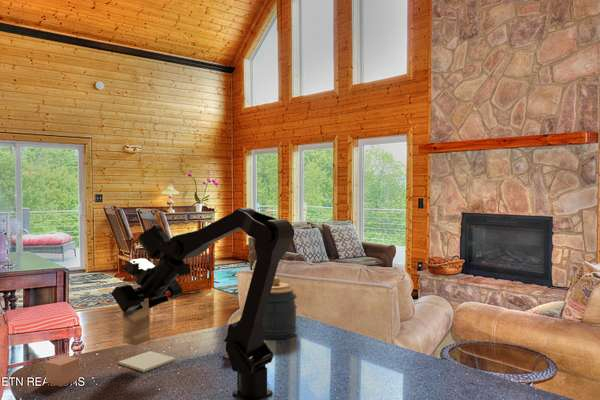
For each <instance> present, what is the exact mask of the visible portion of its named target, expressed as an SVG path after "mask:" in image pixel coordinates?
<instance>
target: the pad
mask: <svg viewBox="0 0 600 400" xmlns="http://www.w3.org/2000/svg"><path fill="white" fill-rule="evenodd" d="M175 361H176V358H175V357H173V356H170V355H166V354H162V353H159V352H155V351H152V350H148V351H147V352H143V353H141V354H137V355H135V356H132V357H128V358H125V359H123V360H119V361H118V365H121V366H123V367H127V368H130V369H134V370H136V371H139V372H143V373H145V372H148V371H150V370H153V369H154V370H155V368H158V367H162V366H164V365H166V364H169V363H172V362H175Z"/></svg>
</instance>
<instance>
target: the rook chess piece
mask: <svg viewBox="0 0 600 400" xmlns="http://www.w3.org/2000/svg"><path fill="white" fill-rule="evenodd" d="M228 327H229V325H227V326H225V330H224V331H225V333H226V334H225V337H227V332H228ZM225 347H226V345H225V346H224V348H223V350H222V352H223V353H222V356H223V357H224V358H225V359H227V360H228V359H229V356H228V353H227V352H226V348H225Z"/></svg>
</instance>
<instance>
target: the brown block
mask: <svg viewBox="0 0 600 400" xmlns="http://www.w3.org/2000/svg"><path fill="white" fill-rule="evenodd" d="M130 285H131V286H132V287H133V289H134V290H135V291H137V290H136V289H137V288H138V287H141V286H140V285H138V284H137V283H134V284H130ZM141 305H142V307H143V308H142V309H141V310H139V311H137V312H135V313H133V314H131V315H129V316H127V317H125V316H124V314H123V311H122V310H121V311H122V343H123V344H127V345H132V346H139V345H141V344H143V343H146V342H148V341H151V338H150V337H151V336H150V335H151V334H150V309H149V299H145V300H144V302H143V303H141Z"/></svg>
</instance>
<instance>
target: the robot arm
mask: <svg viewBox="0 0 600 400" xmlns="http://www.w3.org/2000/svg"><path fill="white" fill-rule="evenodd" d="M240 230H241V231H243V232H244V233H245V234H246V235H247V236H249V237H250V238H252V239H254V244H253V248H254V252H255V256H256V260H255V264H254V267H253V270H252V275H251V279H250V282H249V287H248V290H247V294H246V298H245V302H244V304H243V308H242V312H241V316H240V319H239V320H237V321H234V322H231V323H230V324H228V326H229V327H228V332H227V333H226V335H227V337H226V336H225V337H226V338H224V340H223V341H224V343H225V346H226V347H225V346H224V349H225V348H226V352H227V353H228V356H229V362H230V366H231V371H233V372H236V373H237V377H236V378H237V379H236V380H237V381H236V382H237V383H236V384H237V387H236V390H233V391H232V393H231V394H232V395H233V396H235V397H237V398H240V399H241V400H262V399H265V398H266V397H268V396H271V395H273V393H274V392H273V391H272V390H270V389H268V367H267V366H266V365H267V364H270V363H272V362H273V359H274V355H275V354H274V353H273V351H272V350H271V349H270V346H268V344H267V343H266V342H265V339H264V337H265V331H264V327H263V318H264V314H265V310H266V307H267V303H268V300H269V296H270V292H271V289H272V285H273V281H274V278H275V277H276V275H277V274H276V273H277V269H278V266H279V263H280V261H281V260H282V258H283V257H284V256H285V254H286V253H287V252H288V250H289V248H290V246H291V244H292V242H293V239H294V237H295V228H294V227H293V225H292V223H291V222H290V221H288V220H287V219H285V218H276V217H273V216H271V215H267V214H265V213H262V212H258V211H257V210H255V209H252V208H251V207H242V208H241V207H240V208H237V209H235V210H234V211H233V212H231V213H230V214H227V215H226V216H223V217H221V218H220V219H218V220H216V221H214V222H212V223H209V224H207V225H205V226H204V227H202V228H199V229H198V230H194V231H190V232H185V233H181V234H177V235H173V236H172V237H171V238H170V237H169V235H168V234H167V233H166V232H165V231H164V228H163V227H162V225H161V224H154V225H152V227H151V228H148V229H146V230H145V231H144V232H142V233H140V235H138V238H137V241H138V242H139V244H140V246H141V247H142V249H143V250H144V252H145V253H146V255H148V257H149V258H150V259H151V260H154V259H155V260H158V262H157V263H155V264H154V263H152V262H151V261H149V260H148V259H146V258H143V257H142V258H135V259H131V260H128V262H127V263H126V264H125V265H124V272H125V273H126V274H127V275H129V276H130V277H132V276H133V277H135V279H136V280H135V283H136V284H138V285H140V286H141V287H138V288H137V289H136V290H137V291H135V290H134V289H133V287H132V286H131V285H132V284H123V285H118V286H115V287H114V289H113V290H112V292H111V296H112V298H113V299H114V300H115V302H116V303H117V306H119V308H120V310H121V311H123V314H124V316H125V317H127V316H129V315H131V314H133V313H135V312H137V311H139V310H141V309H142V308H143V307H142V305H141V303H143V302H144V300H145V299H149V310H150V309H153V308H154V307H156V306H160V305H162V304H164V303H166V302H168V301H169V298H170V300H174V299H177V298H178V299H179V297H180V296H181V295H182V293H183V288H182V286H181V284H180V283H179V282H178V281H177V279H176V278H177V277H178V276H179V277H182V276H183V277H184V276H187V275H190V274H191V273H192V272H191V267H190V262H186V261H185V260H188V259H191V258H196V257H199V256H201V254H203V253H204V252H206V251H207V250H208V248H209V246H211V245H212V244H214V243H215V242H218V241H220V240H223V239H224V238H226V237H228V236H230V235H233V234H234V233H237V232H238V231H240ZM168 291H169V293H170V295H169V297H168V296H167V295H168Z"/></svg>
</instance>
